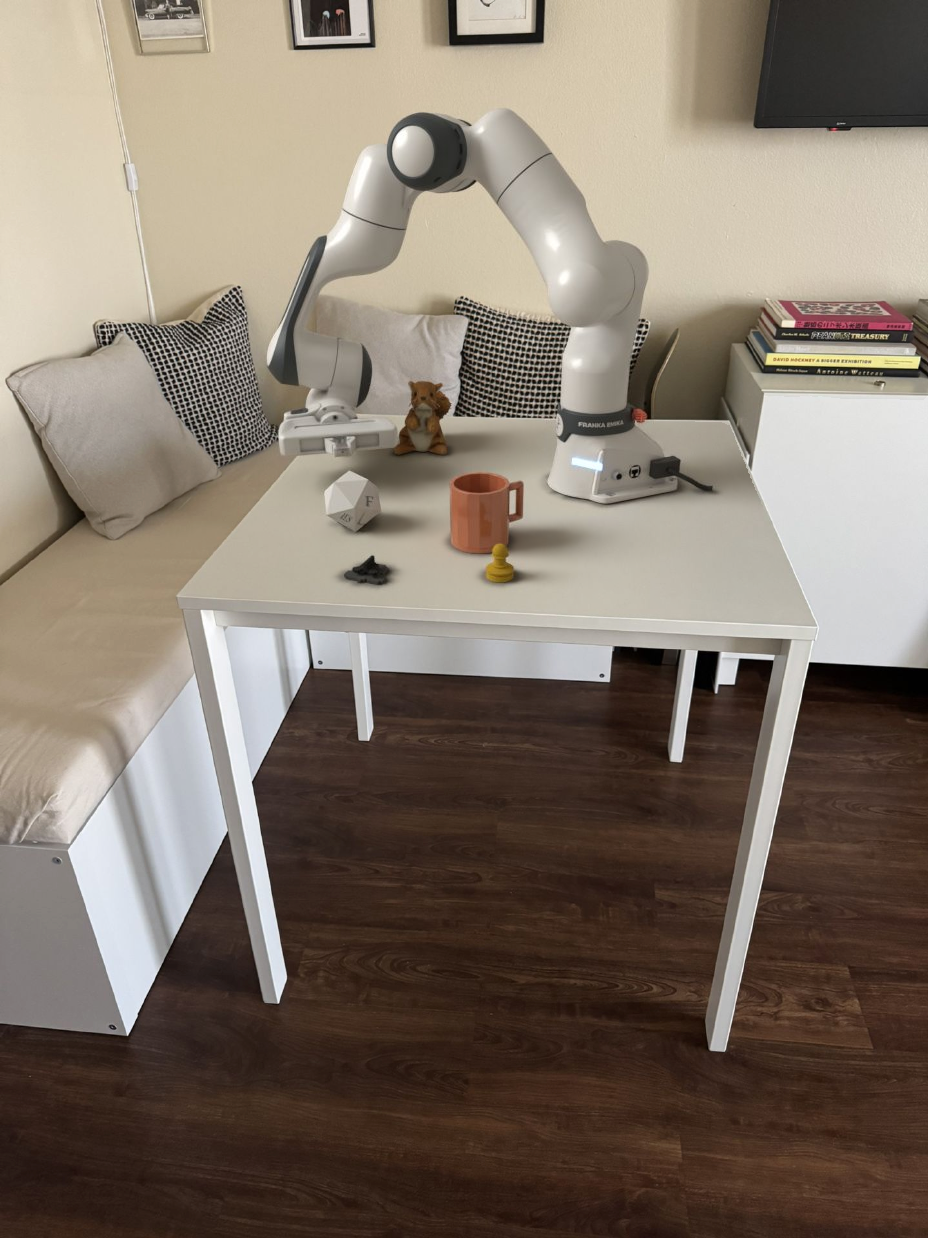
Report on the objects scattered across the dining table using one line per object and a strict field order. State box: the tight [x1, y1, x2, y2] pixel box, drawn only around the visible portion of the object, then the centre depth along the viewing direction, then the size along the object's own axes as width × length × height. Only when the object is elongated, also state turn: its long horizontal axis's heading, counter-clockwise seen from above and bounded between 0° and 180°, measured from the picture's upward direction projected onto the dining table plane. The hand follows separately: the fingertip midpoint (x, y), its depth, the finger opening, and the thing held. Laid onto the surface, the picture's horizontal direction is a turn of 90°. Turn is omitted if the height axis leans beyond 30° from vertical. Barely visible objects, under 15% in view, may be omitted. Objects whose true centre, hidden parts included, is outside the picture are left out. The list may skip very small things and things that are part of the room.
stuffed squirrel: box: [393, 380, 452, 456], centre depth 172 cm, size 10×14×13 cm
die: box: [323, 470, 382, 533], centre depth 142 cm, size 8×9×10 cm
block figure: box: [343, 554, 390, 586], centre depth 128 cm, size 6×2×6 cm
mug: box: [449, 471, 525, 555], centre depth 136 cm, size 12×9×10 cm
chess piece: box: [485, 544, 515, 583], centre depth 126 cm, size 4×4×5 cm
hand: (342, 452), depth 148 cm, fingers closed
